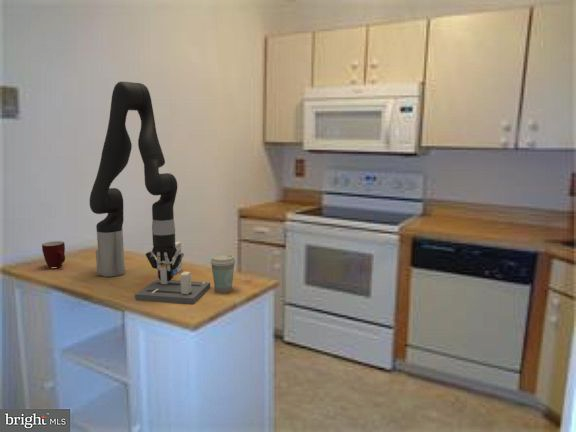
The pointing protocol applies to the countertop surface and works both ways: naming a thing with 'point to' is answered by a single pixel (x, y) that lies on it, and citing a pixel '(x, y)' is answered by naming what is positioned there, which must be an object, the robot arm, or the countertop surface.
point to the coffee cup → (223, 272)
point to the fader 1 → (163, 274)
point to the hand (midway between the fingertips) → (165, 280)
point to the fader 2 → (185, 282)
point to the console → (172, 292)
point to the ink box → (179, 268)
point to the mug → (54, 253)
